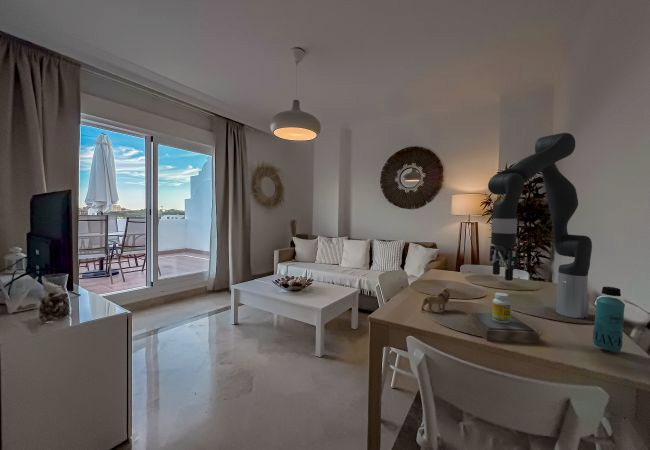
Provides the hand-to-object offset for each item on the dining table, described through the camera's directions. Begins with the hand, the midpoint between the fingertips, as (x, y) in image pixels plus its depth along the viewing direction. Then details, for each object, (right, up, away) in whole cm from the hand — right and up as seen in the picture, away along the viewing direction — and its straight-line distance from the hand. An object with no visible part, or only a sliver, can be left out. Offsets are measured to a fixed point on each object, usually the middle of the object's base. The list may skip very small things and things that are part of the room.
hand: (502, 277), depth 100 cm
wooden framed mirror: (0, -20, +1) cm, 20 cm away
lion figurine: (-15, -19, +23) cm, 33 cm away
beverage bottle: (+25, -21, -12) cm, 35 cm away
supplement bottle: (0, -16, +1) cm, 16 cm away
